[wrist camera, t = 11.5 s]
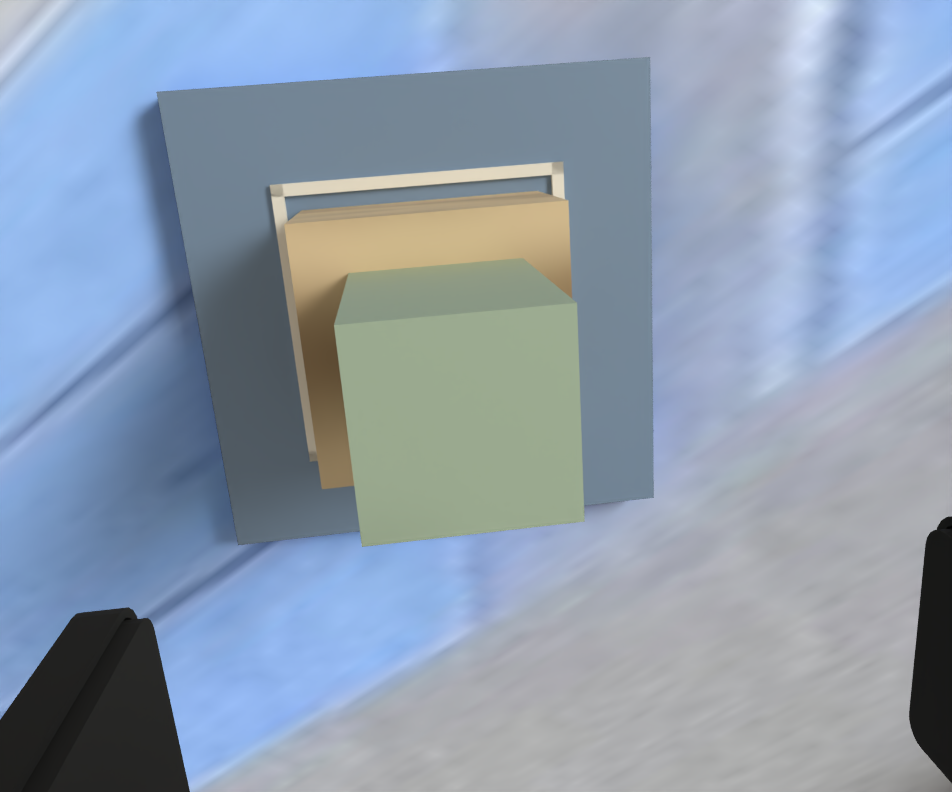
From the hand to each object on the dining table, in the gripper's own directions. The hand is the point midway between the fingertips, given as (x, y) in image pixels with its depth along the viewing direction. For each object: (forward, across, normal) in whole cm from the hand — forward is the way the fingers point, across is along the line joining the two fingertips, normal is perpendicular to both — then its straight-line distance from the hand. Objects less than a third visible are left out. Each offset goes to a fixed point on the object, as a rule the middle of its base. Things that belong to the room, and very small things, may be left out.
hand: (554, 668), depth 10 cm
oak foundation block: (+20, +1, 0) cm, 20 cm away
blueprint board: (+21, +1, 0) cm, 21 cm away
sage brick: (+15, 0, 0) cm, 15 cm away
